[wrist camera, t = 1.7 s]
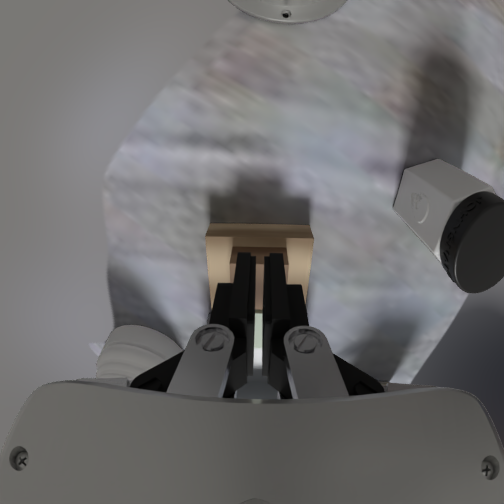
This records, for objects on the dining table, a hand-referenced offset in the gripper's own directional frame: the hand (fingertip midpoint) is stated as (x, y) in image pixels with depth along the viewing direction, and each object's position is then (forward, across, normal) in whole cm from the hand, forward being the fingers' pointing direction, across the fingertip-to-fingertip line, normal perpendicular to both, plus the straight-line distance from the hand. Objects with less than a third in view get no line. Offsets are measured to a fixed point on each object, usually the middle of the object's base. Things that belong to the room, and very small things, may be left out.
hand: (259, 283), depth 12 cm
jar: (+17, -18, +1) cm, 25 cm away
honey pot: (+17, +17, +27) cm, 36 cm away
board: (+17, 0, +11) cm, 20 cm away
